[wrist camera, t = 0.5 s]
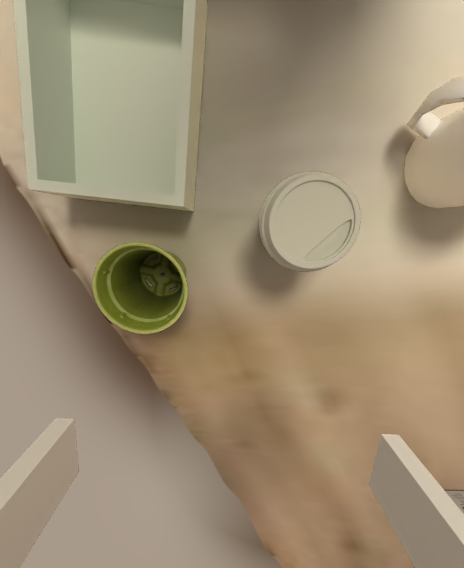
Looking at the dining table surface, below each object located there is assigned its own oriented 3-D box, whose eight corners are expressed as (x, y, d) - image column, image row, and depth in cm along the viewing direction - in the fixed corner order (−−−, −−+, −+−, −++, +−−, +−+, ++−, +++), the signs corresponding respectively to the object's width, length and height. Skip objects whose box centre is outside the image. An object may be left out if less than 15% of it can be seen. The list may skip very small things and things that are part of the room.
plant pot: (156, 319, 34) (132, 350, 25) (113, 264, 32) (72, 276, 24) (211, 284, 33) (206, 303, 24) (170, 224, 31) (148, 222, 23)
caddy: (65, -11, 25) (5, -99, 19) (207, 9, 26) (199, -69, 19) (73, 198, 30) (27, 189, 23) (193, 211, 31) (183, 206, 24)
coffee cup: (254, 263, 32) (269, 283, 21) (244, 196, 30) (254, 176, 19) (318, 252, 32) (370, 266, 20) (312, 184, 30) (365, 156, 18)
